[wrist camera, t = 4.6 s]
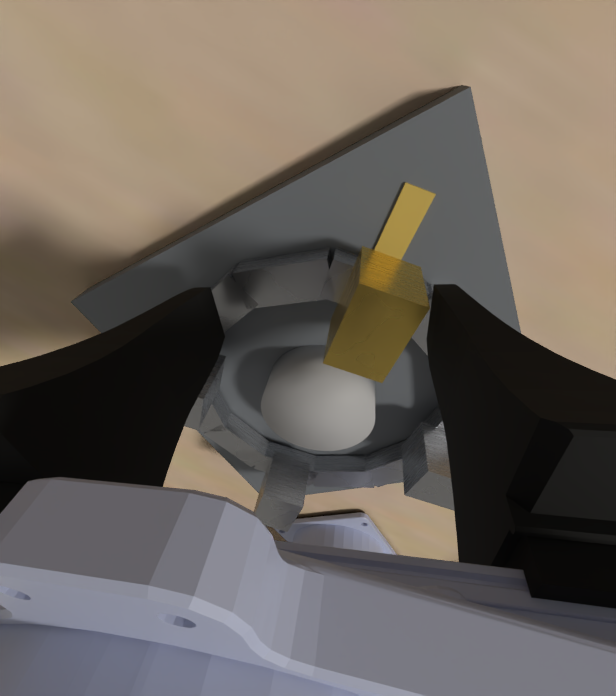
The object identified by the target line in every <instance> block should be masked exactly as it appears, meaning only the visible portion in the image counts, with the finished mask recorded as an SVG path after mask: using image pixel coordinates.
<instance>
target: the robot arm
mask: <svg viewBox="0 0 616 696" xmlns="http://www.w3.org/2000/svg"><path fill="white" fill-rule="evenodd" d="M224 339H225V334H224V331H223V327H222V324H221V321H220V317H219V314H218V310H217V307H216V304H215V300H214V297H213V293H212V290H211V287H197V288H191V289H189V290H186V291H184V292H182V293H180V294H178V295H176V296H174V297H172V298H170V299H168V300H166V301H164V302H163V303H161V304H159V305H157V306H155V307H153V308H152V309H150V310H148V311H146V312H144V313H142V314H140V315H138V316H136V317H134V318H132V319H130V320H128V321H126V322H124V323H122V324H120V325H118V326H116V327H114V328H112V329H110V330H108V331H106V332H103V333H101V334H99V335H96V336H94V337H91V338H89V339H86V340H84V341H81V342H79V343H76V344H73V345H70V346H67V347H64V348H61V349H59V350H56V351H53V352H50V353H47V354H44V355H41V356H37V357H34V358H30V359H27V360H23V361H20V362H16V363H12V364H8V365H4V366H0V696H616V379H613V378H611V377H608V376H606V375H603V374H601V373H598V372H596V371H593V370H591V369H589V368H586V367H584V366H582V365H580V364H578V363H575V362H573V361H571V360H569V359H566V358H564V357H562V356H560V355H558V354H556V353H554V352H552V351H551V350H549V349H547V348H545V347H543V346H541V345H540V344H538V343H536V342H534V341H532V340H531V339H529V338H527V337H526V336H524V335H522V334H521V333H519V332H518V331H516V330H515V329H513V328H512V327H510V326H509V325H507V324H506V323H504V322H503V321H502V320H500V319H499V318H498V317H496V316H495V315H493V314H492V313H491V312H490V311H488V310H487V309H486V308H484V307H483V306H482V305H481V304H479V303H478V302H477V301H476V300H475V299H473V298H472V297H471V296H470V295H469V294H467V293H466V292H465V291H464V290H462V289H461V288H460V287H459V286H457V285H456V284H434V287H433V294H432V301H431V309H430V316H429V324H428V331H427V338H426V341H427V352H428V361H429V368H430V372H431V376H432V380H433V384H434V389H435V393H436V397H437V400H438V404H439V408H440V412H441V416H442V420H443V425H444V430H445V435H446V442H447V449H448V457H449V465H450V473H451V482H452V491H453V500H454V510H455V521H456V531H457V542H458V555H459V562H452V561H444V560H436V559H427V558H419V557H410V556H402V555H397V554H396V553H395V551H394V550H393V549H392V547H391V546H390V545H389V543H388V542H387V541H386V539H385V538H384V536H383V535H382V534H381V532H380V531H379V530H378V528H377V527H376V526H375V524H374V523H373V522H372V520H371V519H370V518H369V516H368V515H367V514H365V513H362V512H359V513H349V514H339V515H330V516H320V517H310V518H300V519H295V521H294V522H293V524H292V525H291V527H290V528H289V530H288V532H285V531H282V530H279V529H275V528H274V529H275V530H276V531H277V532H278V533H279V534H280V535H281V536H282V537H283V538H284V539H285V540H286V541H287V542H285V541H277V540H274V539H273V536H272V534H271V533H270V531H269V530H268V528H267V527H266V526H265V524H264V523H263V522H262V521H261V520H260V518H259V517H258V516H257V515H256V514H255V512H253V511H251V510H249V509H247V508H245V507H244V506H242V505H240V504H238V503H236V502H234V501H232V500H230V499H229V498H226V497H222V496H218V495H213V494H209V493H205V492H201V491H196V490H188V489H178V488H168V487H163V484H164V481H165V477H166V474H167V471H168V468H169V465H170V462H171V459H172V457H173V454H174V451H175V448H176V445H177V443H178V440H179V438H180V435H181V432H182V430H183V427H184V425H185V422H186V420H187V418H188V416H189V413H190V411H191V409H192V407H193V406H194V404H195V402H196V400H197V398H198V396H199V394H200V392H201V391H202V389H203V387H204V385H205V383H206V381H207V379H208V377H209V375H210V373H211V372H212V370H213V368H214V366H215V364H216V362H217V360H218V357H219V354H220V351H221V348H222V345H223V342H224Z"/></svg>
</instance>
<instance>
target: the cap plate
mask: <svg viewBox="0 0 616 696" xmlns="http://www.w3.org/2000/svg"><path fill="white" fill-rule="evenodd" d="M362 246H364V247H367V248H370V249H373V250H375V251H378V252H381V253H384V254H386V255H389V256H392V257H395V258H397V259H400V260H403V261H406V262H409V263H411V264H414V265H417V266H420V267H421V270H422V274H423V279H426V282H427V285H428V284H429V283H431V284H432V285H433V287H434V284H456V285H457V286H459V287H460V288H461V289H462V290H464V291H465V292H466V293H467V294H469V295H470V296H471V297H472V298H473V299H475V300H476V301H477V302H478V303H479V304H481V305H482V306H483V307H484V308H486V309H487V310H488V311H490V312H491V313H492V314H493V315H495V316H496V317H498V318H499V319H500V320H502V321H503V322H504V323H506V324H507V325H509V326H510V327H512V328H513V329H515V330H516V331H518V332H519V333H521V331H520V326H519V321H518V316H517V311H516V306H515V301H514V296H513V292H512V287H511V282H510V277H509V272H508V267H507V262H506V257H505V253H504V248H503V243H502V238H501V233H500V228H499V223H498V218H497V214H496V209H495V204H494V199H493V194H492V189H491V184H490V179H489V175H488V170H487V165H486V160H485V155H484V150H483V145H482V140H481V136H480V131H479V126H478V121H477V116H476V111H475V106H474V101H473V97H472V92H471V87H469V86H464V85H461V86H459V87H458V88H456V89H454V90H452V91H450V92H448V93H447V94H445V95H443V96H441V97H439V98H437V99H436V100H434V101H432V102H430V103H428V104H426V105H425V106H423V107H421V108H419V109H417V110H415V111H414V112H412V113H410V114H408V115H406V116H404V117H402V118H401V119H399V120H397V121H395V122H393V123H391V124H390V125H388V126H386V127H384V128H382V129H380V130H379V131H377V132H375V133H373V134H371V135H369V136H368V137H366V138H364V139H362V140H360V141H358V142H357V143H355V144H353V145H351V146H349V147H347V148H346V149H344V150H342V151H340V152H338V153H336V154H335V155H333V156H331V157H329V158H327V159H325V160H324V161H322V162H320V163H318V164H316V165H314V166H313V167H311V168H309V169H307V170H305V171H303V172H301V173H300V174H298V175H296V176H294V177H292V178H290V179H289V180H287V181H285V182H283V183H281V184H279V185H278V186H276V187H274V188H272V189H270V190H268V191H267V192H265V193H263V194H261V195H259V196H257V197H256V198H254V199H252V200H250V201H248V202H246V203H245V204H243V205H241V206H239V207H237V208H235V209H234V210H232V211H230V212H228V213H226V214H224V215H223V216H221V217H219V218H217V219H215V220H213V221H212V222H210V223H208V224H206V225H204V226H202V227H201V228H199V229H197V230H195V231H193V232H191V233H189V234H188V235H186V236H184V237H182V238H180V239H178V240H177V241H175V242H173V243H171V244H169V245H167V246H166V247H164V248H162V249H160V250H158V251H156V252H155V253H153V254H151V255H149V256H147V257H145V258H144V259H142V260H140V261H138V262H136V263H134V264H133V265H131V266H129V267H127V268H125V269H123V270H122V271H120V272H118V273H116V274H114V275H112V276H111V277H109V278H107V279H105V280H103V281H101V282H100V283H98V284H96V285H94V286H92V287H90V288H88V289H87V290H86V291H84V292H83V293H82V294H80V295H79V296H78V297H76V298H75V299H74V300H72V301H71V303H72V304H73V305H74V306H75V307H76V308H77V309H78V310H79V311H80V312H81V313H82V314H83V315H84V316H85V317H86V318H87V319H88V320H89V321H90V322H91V323H92V324H93V325H94V326H95V327H96V328H97V329H98V330H99V331H100V332H101V333H103V332H106V331H108V330H110V329H112V328H114V327H116V326H118V325H120V324H122V323H124V322H126V321H128V320H130V319H132V318H134V317H136V316H138V315H140V314H142V313H144V312H146V311H148V310H150V309H152V308H153V307H155V306H157V305H159V304H161V303H163V302H164V301H166V300H168V299H170V298H172V297H174V296H176V295H178V294H180V293H182V292H184V291H186V290H189V289H191V288H197V287H212V286H213V285H214V284H215V283H216V282H218V281H219V280H220V279H221V278H222V277H223V276H224V275H225V274H226V273H227V272H228V271H229V270H230V269H231V268H232V267H233V266H234V265H235V264H236V263H237V264H238V265H239V263H240V262H241V261H245V260H251V259H257V258H263V257H270V256H276V255H282V254H288V253H294V252H300V251H307V250H313V249H319V248H325V247H330V249H331V254H332V257H333V254H334V251H335V249H336V247H337V248H340V249H342V250H345V251H348V252H351V253H353V254H356V255H358V254H359V252H360V250H361V247H362ZM337 304H338V303H336V302H333V301H330V300H328V299H326V300H317V301H309V302H301V303H293V304H285V305H277V306H269V307H261V308H254V309H252V310H251V311H250V312H249V313H247V314H246V315H245V316H244V317H242V318H241V319H240V320H239V321H238V322H236V323H235V324H234V325H233V326H231V327H230V328H229V329H228V330H226V331H225V332H224V334H225V339H224V342H223V345H222V348H221V351H220V355H223V356H226V359H225V364H224V369H223V374H222V379H221V384H220V388H219V390H220V392H221V394H222V396H223V398H224V400H225V402H226V404H227V405H228V407H229V409H230V411H231V413H232V414H234V415H235V416H236V417H238V418H239V419H240V420H242V421H243V422H244V423H246V424H247V425H248V426H250V427H251V428H252V429H254V430H255V431H256V432H258V433H259V434H260V435H262V436H263V437H264V438H266V439H267V440H268V441H270V442H274V443H277V444H280V445H283V446H286V447H289V448H293V449H296V450H299V451H302V452H305V453H308V454H312V455H315V456H366V455H368V454H371V453H374V452H376V451H379V450H381V449H384V448H387V447H389V446H392V445H394V444H397V443H400V442H402V441H405V440H407V438H408V437H409V436H410V435H411V434H412V432H413V431H414V430H415V429H416V428H417V426H418V425H419V424H420V423H421V422H422V421H423V422H425V420H426V419H427V418H428V417H429V416H430V414H431V413H432V412H433V411H434V410H435V408H436V407H437V406H438V405H439V404H438V400H437V397H436V393H435V389H434V384H433V380H432V376H431V372H430V368H429V361H428V356H427V355H426V353H425V352H424V351H423V350H422V349H421V348H420V347H419V345H418V344H417V343H416V342H415V341H414V340H413V339H412V337H411V339H410V340H409V342H408V344H407V345H406V347H405V348H404V350H403V351H402V353H401V355H400V356H399V358H398V359H397V361H396V362H395V364H394V366H393V367H392V369H391V370H390V372H389V373H388V375H387V376H386V378H385V380H384V381H383V383H380V382H377V381H374V380H371V379H368V378H365V377H362V376H359V375H356V374H353V373H350V372H347V371H344V370H341V369H338V368H335V367H332V366H329V365H326V364H323V359H324V354H325V348H326V343H327V338H328V332H329V327H330V321H331V318H332V315H333V313H334V311H335V308H336V306H337ZM197 431H198V432H199V433H200V434H201V435H202V436H203V437H204V438H205V439H206V440H207V441H208V442H209V443H210V444H211V445H212V446H213V447H214V448H215V449H216V450H217V451H218V452H219V453H220V454H221V455H222V456H223V457H224V458H225V459H226V460H227V461H228V462H229V463H230V464H231V465H232V466H233V467H234V468H235V469H236V470H237V471H238V472H239V474H240V475H241V476H242V477H243V478H244V479H245V480H246V481H247V482H248V483H249V484H250V485H251V486H252V487H253V488H254V489H255V490H256V491H257V492H258V493H259V491H260V488H261V484H262V481H263V478H264V475H265V473H266V472H264V471H260V470H257V469H254V467H255V465H254V466H252V467H250V466H249V465H247V464H246V463H244V462H243V461H241V460H240V459H239V458H237V457H236V456H234V455H233V454H231V453H230V452H228V451H227V450H226V449H224V448H223V447H221V446H220V445H218V444H217V443H216V442H214V441H213V440H211V439H210V438H208V437H207V436H205V435H204V433H205V432H201V431H200V429H199V430H197ZM400 482H404V479H401V480H398V481H395V482H392V483H400ZM392 483H389V484H392ZM374 486H376V485H375V484H374ZM354 488H361V487H314V485H313V483H312V485H311V486H309V485H307V486H306V492H305V495H308V494H316V493H323V492H331V491H339V490H346V489H354Z"/></svg>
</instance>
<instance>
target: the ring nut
mask: <svg viewBox="0 0 616 696" xmlns="http://www.w3.org/2000/svg"><path fill="white" fill-rule="evenodd" d="M211 290H212V293H213V297H214V300H215V304H216V307H217V310H218V314H219V317H220V321H221V324H222V327H223V331H224V332H225V331H226V330H228V329H229V328H230V327H231V326H233V325H234V324H235V323H236V322H238V321H239V320H240V319H241V318H242V317H244V316H245V315H246V314H247V313H249V312H250V311H251V310H252V309H254V308H261V307H269V306H277V305H285V304H293V303H301V302H309V301H317V300H326V299H328V300H330V301H333V302H336V303H338V304H337V306H336V308H335V311H334V313H333V315H332V318H331V321H330V327H329V332H328V338H327V343H326V348H325V354H324V359H323V364H326V365H329V366H332V367H335V368H338V369H341V370H344V371H347V372H350V373H353V374H356V375H359V376H362V377H365V378H368V379H371V380H374V381H377V382H380V383H383V381H384V380H385V378H386V376H387V375H388V373H389V372H390V370H391V369H392V367H393V366H394V364H395V362H396V361H397V359H398V358H399V356H400V355H401V353H402V351H403V350H404V348H405V347H406V345H407V344H408V342H409V340H410V339H411V337H412V339H413V340H414V341H415V342H416V343H417V344H418V345H419V347H420V348H421V349H422V350H423V351H424V352H425V353H426V355H427V356H428V352H427V341H426V338H427V331H428V324H429V316H430V309H431V301H432V294H433V285H432V284H431V283H429V284H428V285H427V282H426V279H423V274H422V270H421V267H420V266H417V265H414V264H411V263H409V262H406V261H403V260H400V259H397V258H395V257H392V256H389V255H386V254H384V253H381V252H378V251H375V250H373V249H370V248H367V247H364V246H362V247H361V250H360V252H359V254H358V255H356V254H353V253H351V252H348V251H345V250H342V249H340V248H337V247H336V249H335V251H334V254H333V257H332V254H331V249H330V247H325V248H319V249H313V250H307V251H300V252H294V253H288V254H282V255H276V256H270V257H263V258H257V259H251V260H245V261H241V262H240V263H239V265H238V264H237V263H236V264H235V265H234V266H233V267H232V268H231V269H230V270H229V271H228V272H227V273H226V274H225V275H224V276H223V277H222V278H221V279H220V280H219V281H218V282H216V283H215V284H214V285H213V286H212V287H211ZM225 359H226V356H223V355H220V354H219V357H218V360H217V362H216V364H215V366H214V368H213V370H212V372H211V373H210V375H209V377H208V379H207V381H206V383H205V385H204V387H203V389H202V391H201V392H200V394H199V396H198V398H197V400H196V402H195V404H194V406H193V407H192V409H191V411H190V413H189V416H188V418H187V420H186V422H185V425H184V426H186V427H189V428H192V429H196V430H199V429H200V431H201V432H205V433H204V435H205V436H207V437H208V438H210V439H211V440H213V441H214V442H216V443H217V444H218V445H220V446H221V447H223V448H224V449H226V450H227V451H228V452H230V453H231V454H233V455H234V456H236V457H237V458H239V459H240V460H241V461H243V462H244V463H246V464H247V465H249V466H250V467H252V466H254V465H255V467H254V469H257V470H260V471H264V472H266V473H265V475H264V478H263V481H262V484H261V488H260V491H259V495H258V499H257V502H256V506H255V509H254V512H255V514H256V515H257V516H258V517H259V518H260V520H261V521H262V522H263V523H264V524H265V526H268V527H272V528H275V529H279V530H282V531H285V532H288V530H289V528H290V527H291V525H292V524H293V522H294V521H295V519H296V517H297V516H298V514H299V513H300V511H301V510H302V508H303V504H304V498H305V492H306V486H307V485H309V486H311V485H312V483H313V485H314V487H368V488H374V484H375V485H376V486H377V487H380V486H383V485H386V484H389V483H392V482H395V481H398V480H401V479H404V494H405V495H406V496H409V497H413V498H416V499H419V500H422V501H425V502H428V503H432V504H435V505H438V506H441V507H444V508H448V509H451V510H454V500H453V491H452V482H451V473H450V465H449V457H448V449H447V442H446V435H445V430H444V425H443V420H442V416H441V412H440V408H439V405H438V406H437V407H436V408H435V410H434V411H433V412H432V413H431V414H430V416H429V417H428V418H427V419H426V420H425V422H423V421H422V422H421V423H420V424H419V425H418V426H417V428H416V429H415V430H414V431H413V432H412V434H411V435H410V436H409V437H408V438H407V440H405V441H402V442H400V443H397V444H394V445H392V446H389V447H387V448H384V449H381V450H379V451H376V452H374V453H371V454H368V455H366V456H315V455H312V454H308V453H305V452H302V451H299V450H296V449H293V448H289V447H286V446H283V445H280V444H277V443H274V442H270V441H268V440H267V439H266V438H264V437H263V436H262V435H260V434H259V433H258V432H256V431H255V430H254V429H252V428H251V427H250V426H248V425H247V424H246V423H244V422H243V421H242V420H240V419H239V418H238V417H236V416H235V415H234V414H232V413H231V411H230V409H229V407H228V405H227V404H226V402H225V400H224V398H223V396H222V394H221V392H220V390H219V388H220V384H221V379H222V374H223V369H224V364H225ZM454 511H455V510H454Z"/></svg>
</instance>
